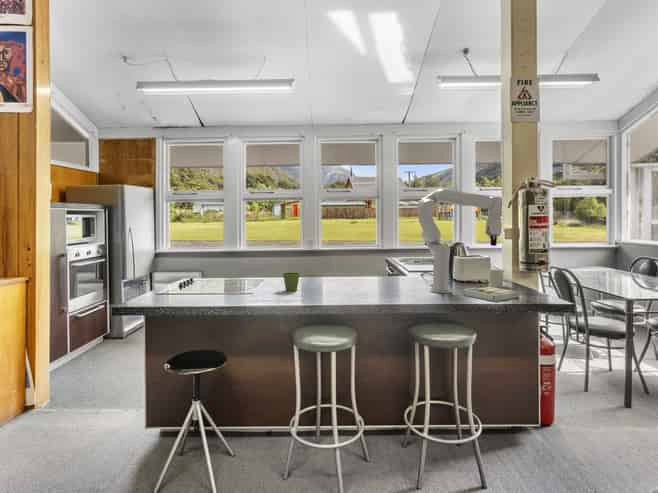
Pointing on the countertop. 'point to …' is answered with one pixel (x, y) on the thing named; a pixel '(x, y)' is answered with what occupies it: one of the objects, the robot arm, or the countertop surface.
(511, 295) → the birch plate
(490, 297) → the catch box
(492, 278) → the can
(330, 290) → the countertop surface
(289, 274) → the plant pot
